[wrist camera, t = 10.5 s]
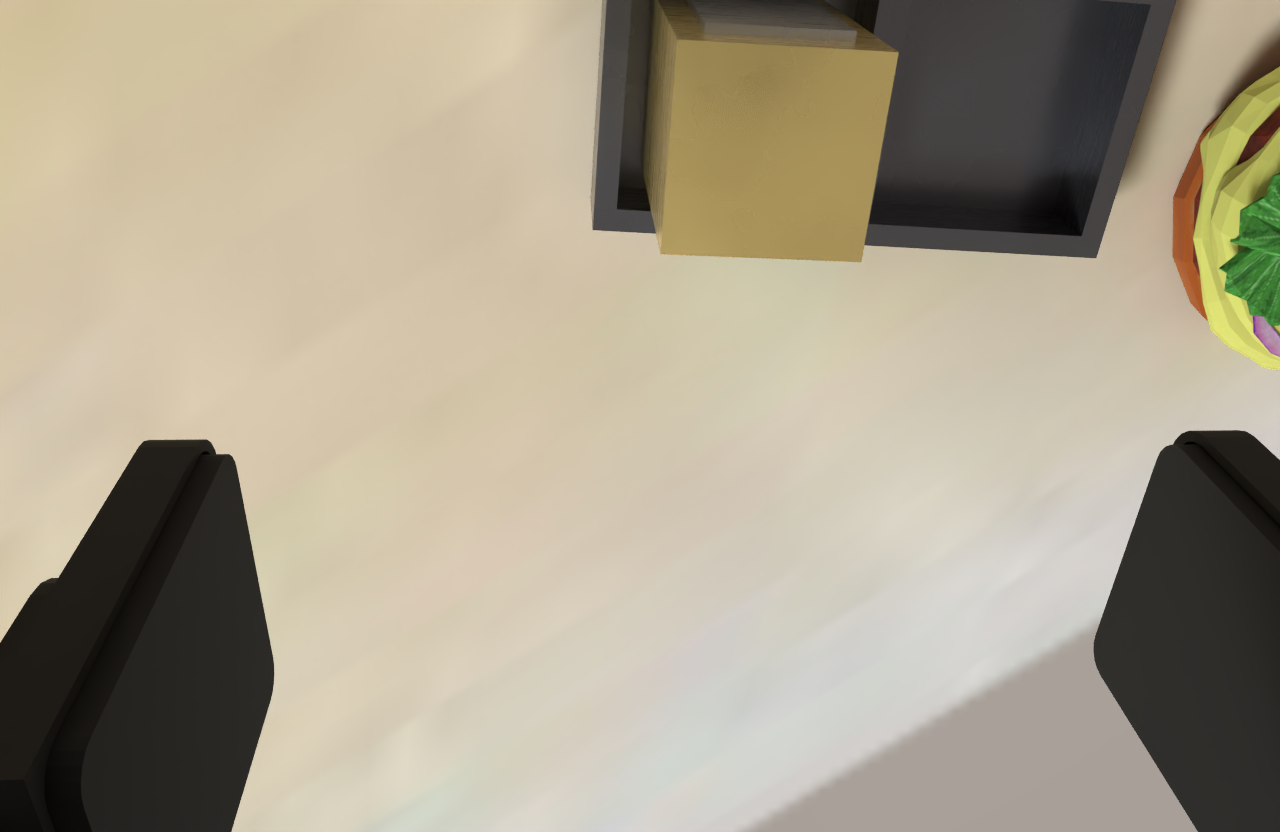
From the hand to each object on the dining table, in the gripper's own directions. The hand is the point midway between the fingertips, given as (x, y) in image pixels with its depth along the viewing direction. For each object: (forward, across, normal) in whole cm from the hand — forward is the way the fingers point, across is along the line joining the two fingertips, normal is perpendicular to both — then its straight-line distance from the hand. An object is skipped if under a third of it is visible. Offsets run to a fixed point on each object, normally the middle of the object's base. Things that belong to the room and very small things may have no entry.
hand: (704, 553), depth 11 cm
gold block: (+20, -3, 0) cm, 20 cm away
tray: (+20, -7, 0) cm, 22 cm away
